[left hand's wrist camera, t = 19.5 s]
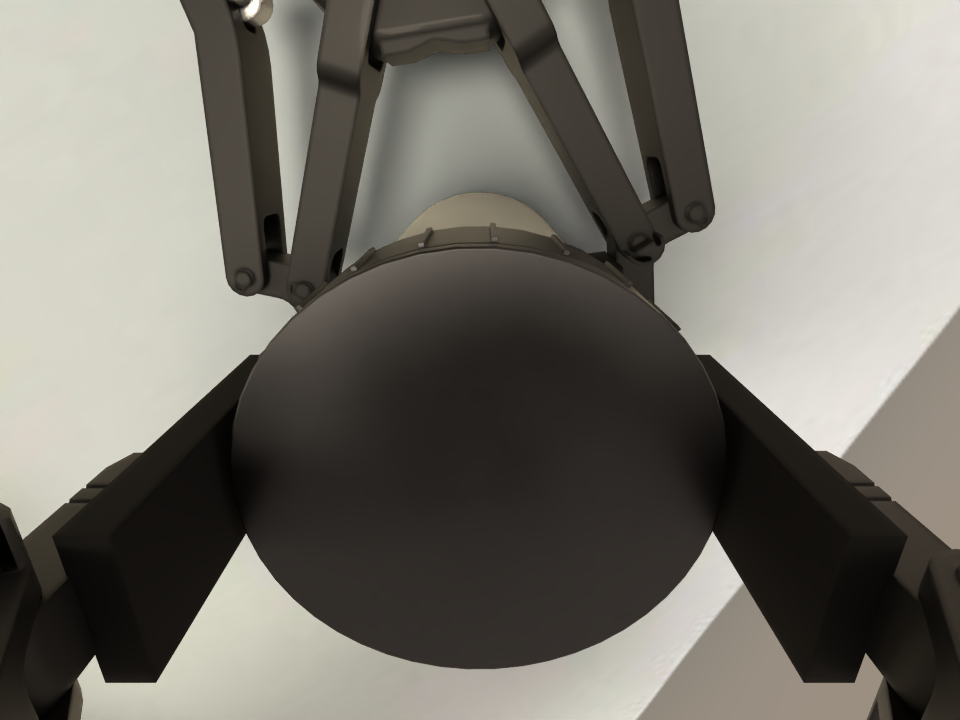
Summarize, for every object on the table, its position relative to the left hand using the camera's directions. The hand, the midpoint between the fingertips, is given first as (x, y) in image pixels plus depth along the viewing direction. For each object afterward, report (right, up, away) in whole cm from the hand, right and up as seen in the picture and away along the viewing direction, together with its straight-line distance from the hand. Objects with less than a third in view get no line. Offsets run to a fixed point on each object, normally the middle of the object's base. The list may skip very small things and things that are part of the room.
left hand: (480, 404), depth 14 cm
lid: (0, -1, -3) cm, 3 cm away
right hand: (+1, -2, +7) cm, 8 cm away
